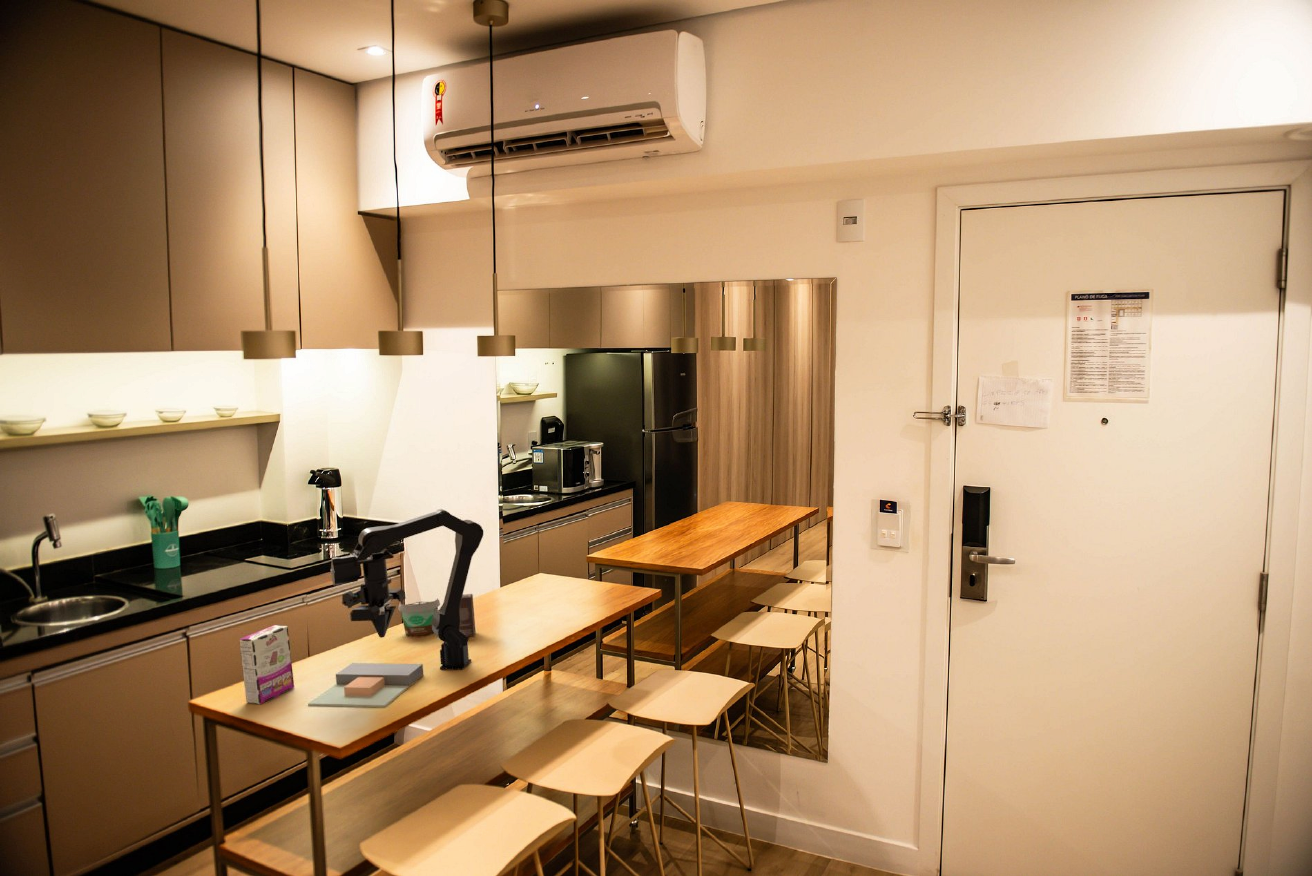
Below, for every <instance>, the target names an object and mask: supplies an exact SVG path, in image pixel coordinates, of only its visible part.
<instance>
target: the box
mask: <svg viewBox="0 0 1312 876" xmlns="http://www.w3.org/2000/svg"><path fill="white" fill-rule="evenodd" d="M460 630H461V631H462V632H463V633H464V634H465V635H466V636H467V637H475V635H476V620H475V609H474V594H473V593H467V594H463V596H462V600H461V604H460ZM474 634H475V635H474Z"/></svg>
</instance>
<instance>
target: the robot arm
mask: <svg viewBox="0 0 1312 876" xmlns="http://www.w3.org/2000/svg"><path fill="white" fill-rule="evenodd" d="M440 527H445V528H447V529H449V530H450V531H453V532H454V535H455V536H454V543H455V544H454V545H455V546H454V547H455V555H454V559H453V563H452V565H451V566H452V567H451V570H450V575H449V579H448V583H447V587H446V590H445V595H444V599H443V603H442V605H440V607H439V608H438V610H437V609H434V612H433V618H432V621H431V622H430V623H431V624H432V630H433V632H434V635H435V636H436V637H437V638H438V639H439V640H440V641H442V642H443V643H442V644H441V645H440V649H439V653H440V654H439V658H440V664H441V666H440V667H439V670H464V669H465V668H466V667H467V666H468V665H469V664H470V663H471V662H472V659H469V658H470V656H469V646H468V644H469V637H470V636H466V635H465V634H464V633H463V632H462V631H461V630H460V604H461V600H462V596H463V595H464V591H465V587H466V583H467V580H468V575H469V571H470V566H471V563H472V558H473V556H474V554H475V553H476V552H477V549H478V548H479V546H480V544H481V542H482V539H483V538H484V529H483V527H482V525H480V523H477V522H476V521H473V520H471V519H465V520H463V519H461V518H458V517H456V516H455V515H453V514H451V513H450V512H448V511H447V510H445V509H442V508H440V509H436V511H434V512H429V513H427V514H424V515H421V516H416V517H414V518H411V519H408V520H405V521H402V522H399V523H396V524H392V525H380V526H374V527H373V526H372V527H366V528H365V529H363V530H361V532H360V534H359V536H358V538H357V539H358V543H356V546H355V548H353V550H352V553H351V555H345V556H341V557H340V556H336V557H332V558H331V559H330V560H331V564H330V575H331V581H332V584H333V586H338V585H344V584H350V583H353V582H354V583H355V582H358V581H359V579H361V577H362V576H363V581H364V582H363V583H361V585H360V588H359V589H357V590H355V591H351V590H349V591H347V592H344V593H343V594H342V595H341V597H342V598H341V599H342V601H341V604H342V605H344V607H347V609H351V608H352V607H354V606H355V605H358V606H357V607H355V608H354V609H352V610H351V611H350V612H349V617H350V621H351V622H371V624H372V625H373V627H374V629H375V631H376V633H377V635H378V637H379V638H381V639H382V638H385V637H386V634H387V631H388V628H389V625H390V622H391V620H392V618H393V615H394V612H395V610H396V609H397V606H396V605H394V606H392V604H391V603H390V602H392V601H393V600H398V602H399V603H401V602H403V601H405V600H406V599H407V598H406V591H405V590H404V589H402V588H389V587H390V586H389V584H391V583H392V578H389V577H388V570H387V569H388V567H387V560H389V559H390V560H391V559H394V557H395V556H394V554H392V553H391V552H389V550H388V548H390V547H391V546H392V545H394V544H395V543H397V542H399V541H401V540H404V539H406V538H407V539H408V538H409V537H413V536H416V535H418V534H423V533H425V532H428V531H431V530H434V529H437V528H440ZM361 564H362V565H361ZM361 566H362V567H361ZM362 572H363V573H362ZM362 574H363V575H362ZM359 604H361V605H359Z"/></svg>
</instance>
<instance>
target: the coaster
mask: <svg viewBox="0 0 1312 876" xmlns="http://www.w3.org/2000/svg"><path fill="white" fill-rule="evenodd" d="M384 685H385V678H384V677H358V678H356V679H355V680H354V681H352V682H351V683H349V684H348V685H346V686H345V687H344V694H345V695H360V696H371V695H372V694H374V693H375V692H376V691H378V690H379V689H380V688H381V687H383V686H384Z"/></svg>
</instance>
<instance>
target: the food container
mask: <svg viewBox="0 0 1312 876" xmlns="http://www.w3.org/2000/svg"><path fill="white" fill-rule="evenodd" d="M439 607H441V602H440V599H439V598H436V599H435V600H433V601H432V600H431V601H416V602H413V603H408V604H407V603H406V604H402V603H401V602H399V604H398V608H397V609H398V611H399V612H401V617H402V623H403V628H404V633H405V634H404V635H405V636H406V637H409V638H422V637H421V636H424V637H427V636H430V635H431V636H432V635H433V634H434V632H433V630H432V624H431V623H430V622H431V621H432V618H433V612H434V609H437V610H439ZM434 635H435V634H434Z"/></svg>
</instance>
